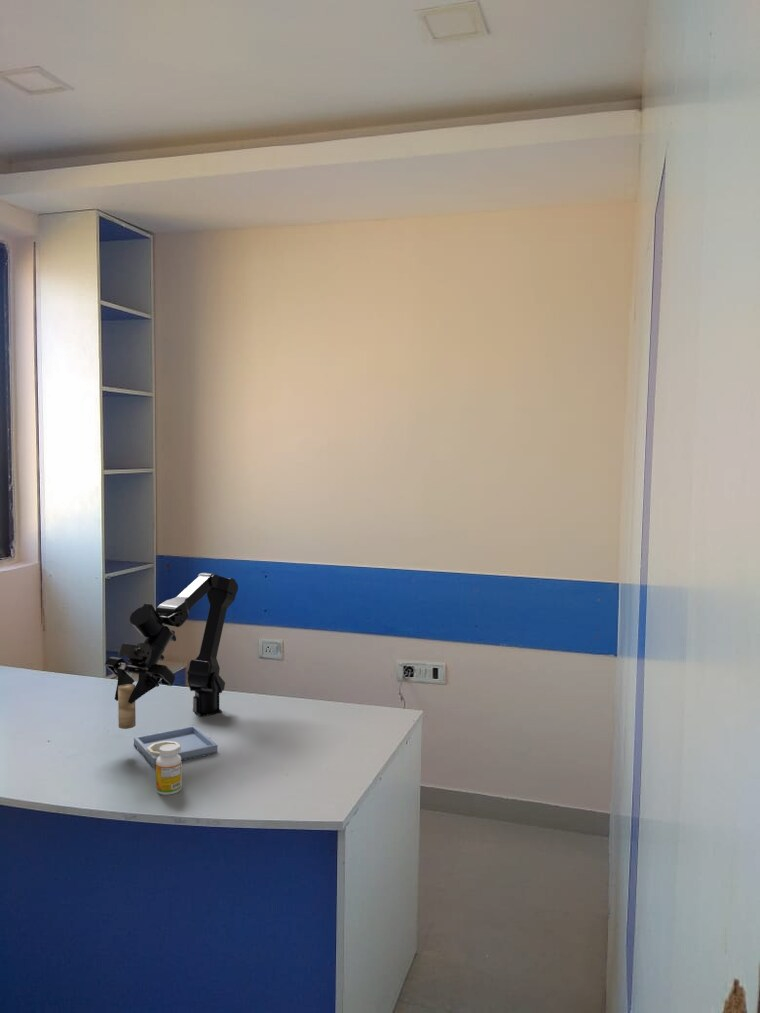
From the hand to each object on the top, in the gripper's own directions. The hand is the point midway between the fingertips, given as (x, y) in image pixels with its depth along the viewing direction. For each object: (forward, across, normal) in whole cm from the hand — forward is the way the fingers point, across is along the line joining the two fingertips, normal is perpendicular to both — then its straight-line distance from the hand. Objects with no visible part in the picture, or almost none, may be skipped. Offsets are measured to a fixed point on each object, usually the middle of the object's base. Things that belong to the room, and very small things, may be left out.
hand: (122, 701), depth 186 cm
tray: (+3, +9, +16) cm, 18 cm away
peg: (+4, 0, +6) cm, 7 cm away
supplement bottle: (+17, +23, +2) cm, 29 cm away
